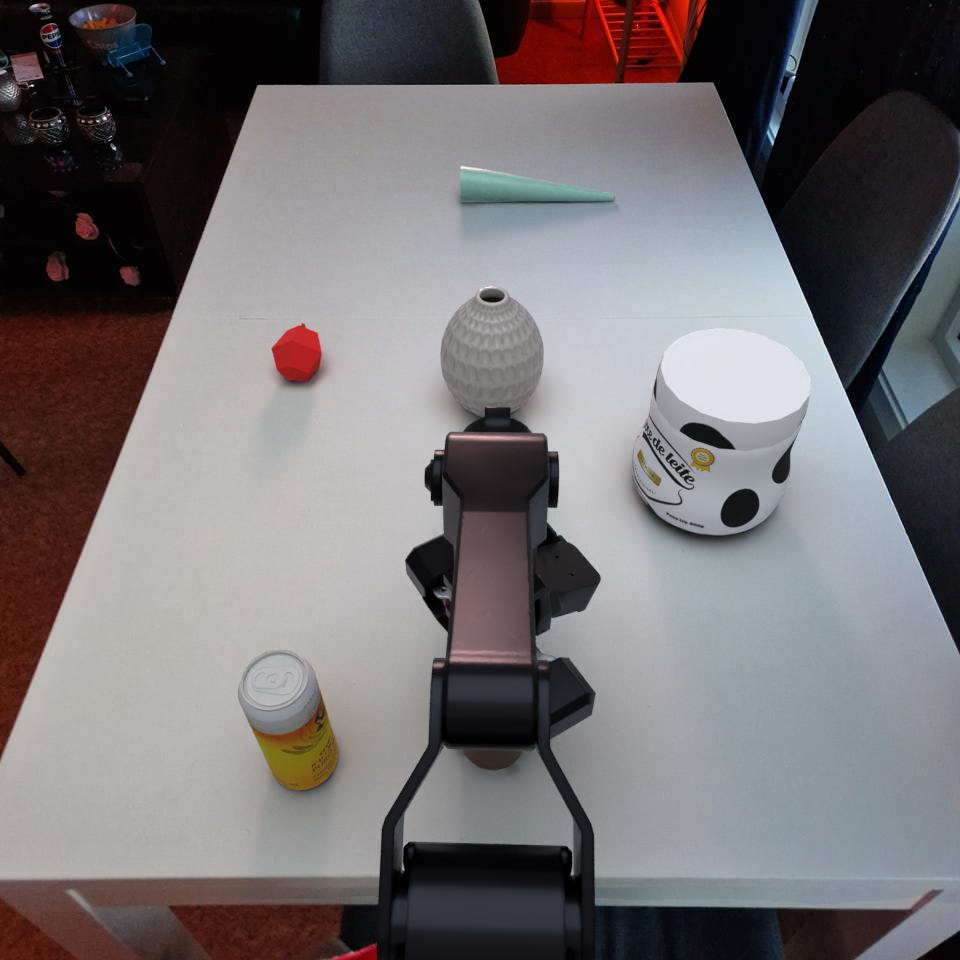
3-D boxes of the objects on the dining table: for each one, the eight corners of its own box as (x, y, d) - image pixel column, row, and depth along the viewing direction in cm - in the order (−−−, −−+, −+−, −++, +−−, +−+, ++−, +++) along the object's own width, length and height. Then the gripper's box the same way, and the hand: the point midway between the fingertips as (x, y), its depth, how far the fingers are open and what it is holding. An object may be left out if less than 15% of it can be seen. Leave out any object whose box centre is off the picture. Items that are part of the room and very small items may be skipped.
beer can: (334, 794, 73) (307, 715, 62) (266, 793, 73) (226, 714, 62) (343, 729, 77) (319, 644, 66) (278, 729, 77) (243, 644, 66)
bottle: (526, 770, 74) (531, 702, 65) (459, 769, 74) (455, 701, 65) (524, 708, 78) (528, 636, 69) (460, 708, 78) (457, 636, 69)
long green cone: (619, 178, 137) (459, 175, 138) (615, 209, 141) (460, 205, 142) (617, 163, 141) (461, 160, 142) (614, 193, 145) (462, 190, 146)
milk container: (601, 506, 95) (619, 388, 82) (666, 420, 105) (692, 303, 92) (742, 573, 89) (787, 457, 75) (798, 476, 98) (846, 358, 85)
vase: (559, 415, 106) (569, 307, 94) (472, 449, 102) (470, 341, 90) (509, 360, 114) (511, 253, 101) (426, 390, 109) (418, 283, 97)
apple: (305, 365, 105) (318, 311, 108) (258, 365, 107) (272, 313, 110) (327, 391, 111) (339, 340, 114) (283, 391, 113) (295, 341, 116)
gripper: (670, 617, 55) (638, 724, 67) (519, 449, 66) (514, 566, 78) (531, 696, 51) (523, 795, 63) (395, 503, 62) (409, 618, 74)
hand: (493, 682), depth 69 cm, fingers open, 6 cm apart
